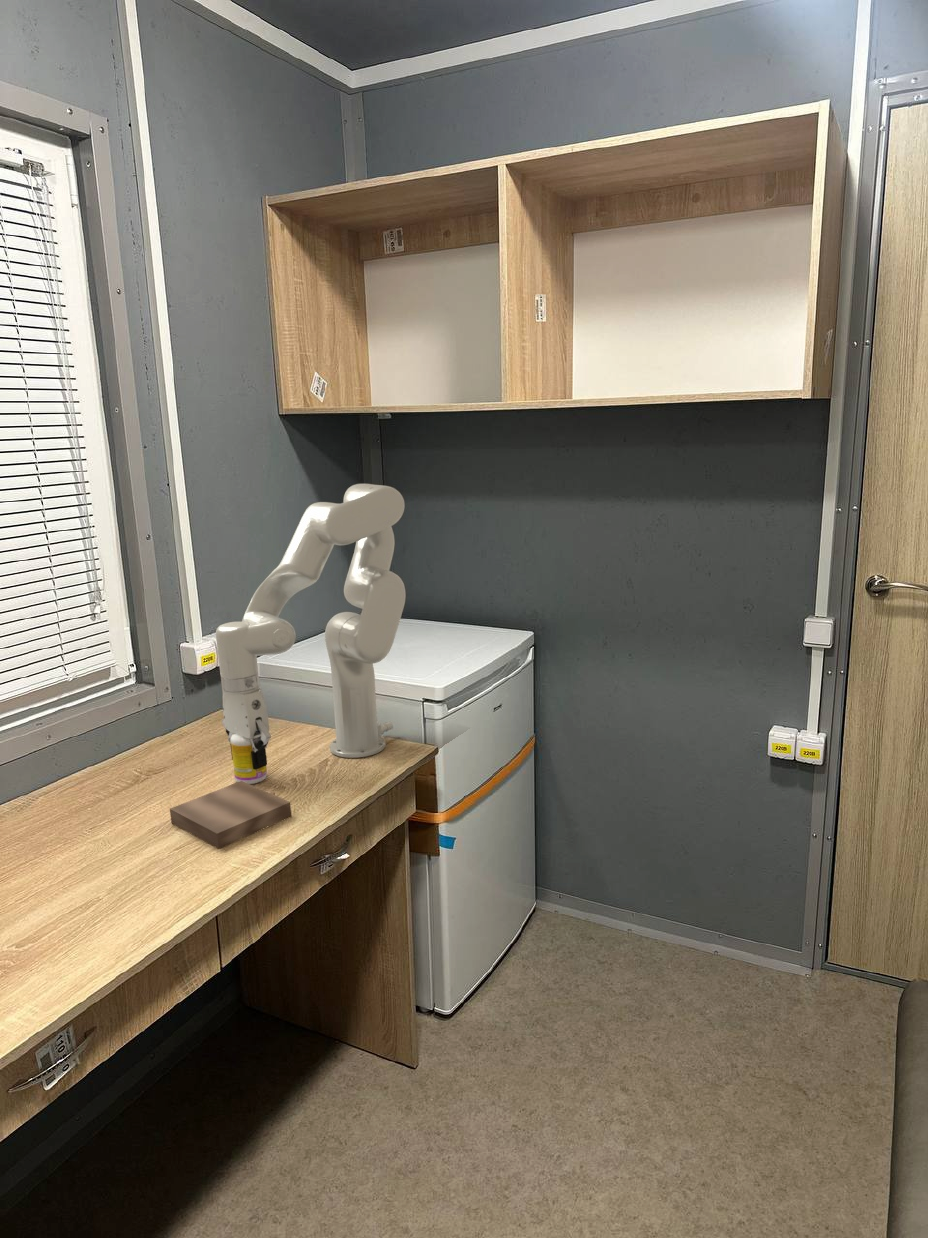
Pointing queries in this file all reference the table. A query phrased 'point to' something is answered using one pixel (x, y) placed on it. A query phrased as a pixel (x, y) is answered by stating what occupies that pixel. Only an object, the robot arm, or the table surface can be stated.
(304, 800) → the table surface
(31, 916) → the table surface
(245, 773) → the supplement bottle
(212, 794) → the block
